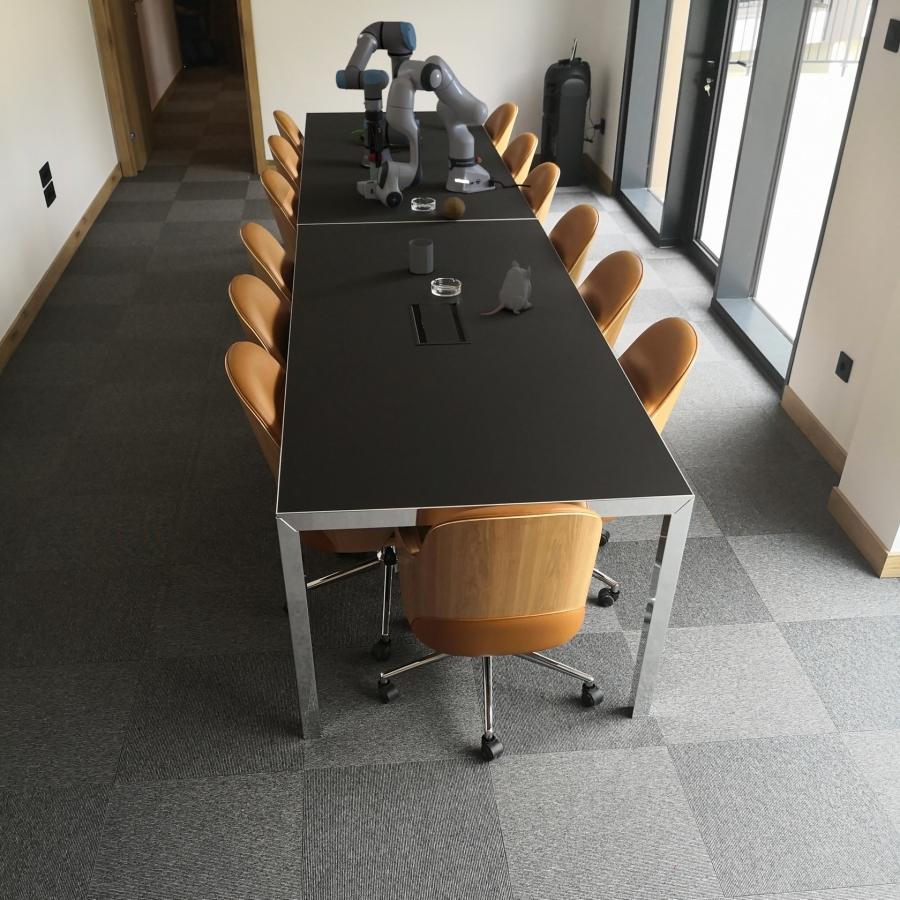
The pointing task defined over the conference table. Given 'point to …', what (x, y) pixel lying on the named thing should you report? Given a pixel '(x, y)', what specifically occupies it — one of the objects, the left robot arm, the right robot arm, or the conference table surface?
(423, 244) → the cup
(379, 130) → the left robot arm
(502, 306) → the toy
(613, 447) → the conference table surface
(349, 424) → the conference table surface
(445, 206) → the potato
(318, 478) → the conference table surface
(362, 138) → the scepter
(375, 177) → the jar
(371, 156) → the lid
